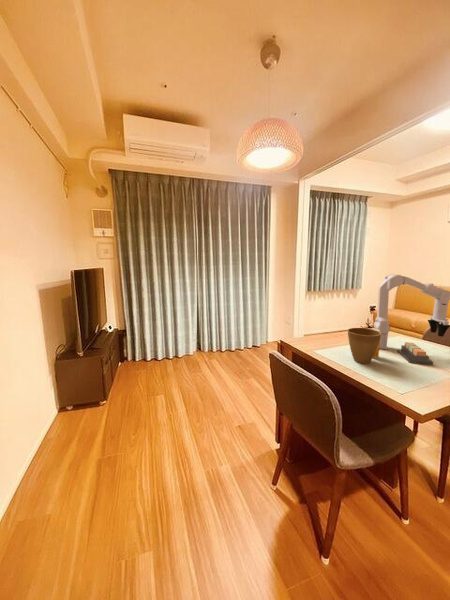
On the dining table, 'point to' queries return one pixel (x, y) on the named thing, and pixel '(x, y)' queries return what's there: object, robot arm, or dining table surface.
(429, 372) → the dining table surface
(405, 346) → the key ivory
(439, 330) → the robot arm
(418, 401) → the dining table surface
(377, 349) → the beer can
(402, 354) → the console
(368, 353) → the plant pot
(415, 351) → the key terracotta
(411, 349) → the key sage
